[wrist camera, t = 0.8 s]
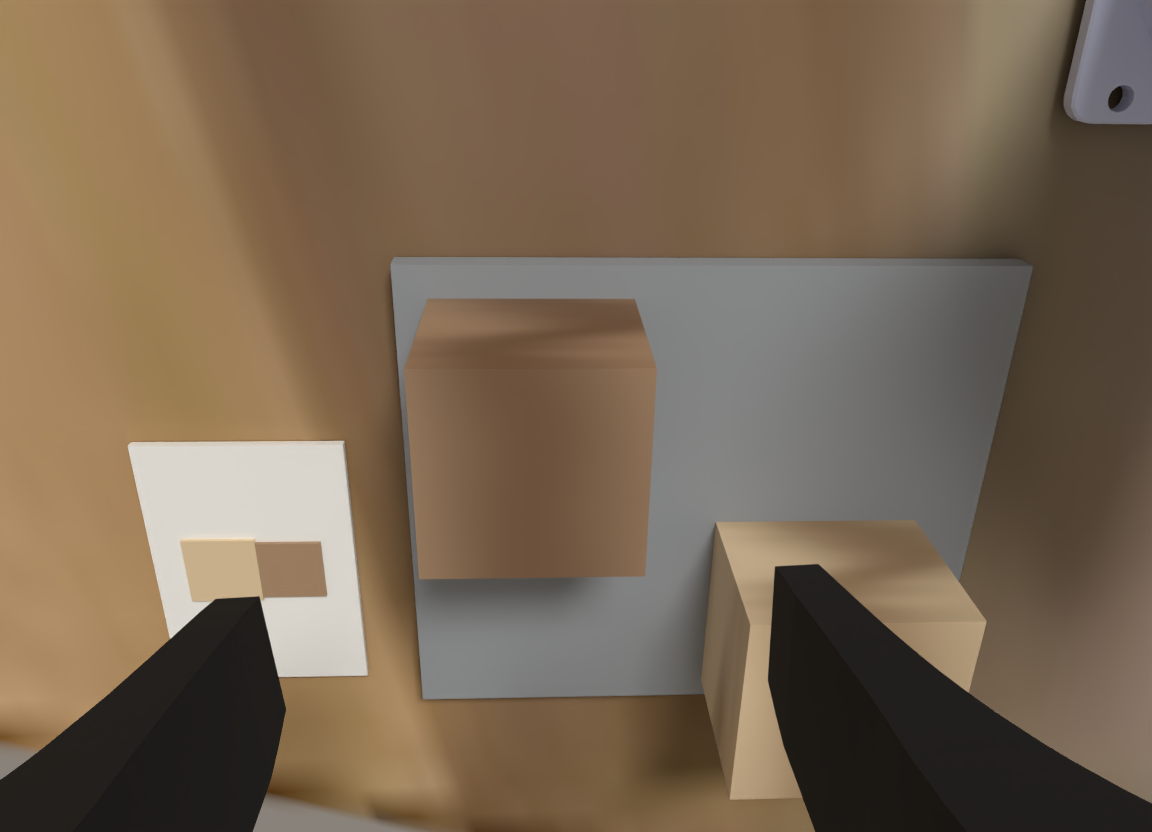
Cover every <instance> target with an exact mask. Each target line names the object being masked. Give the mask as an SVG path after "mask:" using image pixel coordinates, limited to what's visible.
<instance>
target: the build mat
mask: <svg viewBox="0 0 1152 832" xmlns="http://www.w3.org/2000/svg"><path fill="white" fill-rule="evenodd" d="M390 266H391V280H392V293H393V306H394V320H395V333H396V346H397V360H398V373H399V387H400V400H401V413H402V427H403V440H404V453H405V467H406V480H407V493H408V507H409V520H410V534H411V547H412V560H413V574H414V587H415V600H416V614H417V627H418V640H419V654H420V667H421V681H422V694H423V699H468V698H523V697H578V696H633V695H688V694H704V690H703V686H702V682H701V675H702V664H703V654H704V643H705V632H706V622H707V611H708V600H709V590H710V579H711V568H712V558H713V547H714V536H715V526H716V522H775V521H876V520H915V521H916V522H917V524H918V525H919V527H920V528H921V529H922V531H923V532H924V534H925V535H926V536H927V538H928V539H929V541H930V542H931V543H932V545H933V546H934V548H935V549H936V551H937V552H938V553H939V555H940V556H941V558H942V559H943V560H944V562H945V563H946V565H947V566H948V567H949V569H950V570H951V572H952V573H953V575H954V576H955V577H956V579H957V580H958V582H959V581H960V577H961V572H962V568H963V564H964V560H965V555H966V551H967V547H968V543H969V538H970V534H971V530H972V526H973V521H974V517H975V513H976V509H977V504H978V500H979V496H980V492H981V487H982V483H983V479H984V475H985V470H986V466H987V462H988V458H989V453H990V449H991V445H992V441H993V436H994V432H995V428H996V424H997V419H998V415H999V411H1000V407H1001V402H1002V398H1003V394H1004V390H1005V385H1006V381H1007V377H1008V373H1009V368H1010V364H1011V360H1012V356H1013V351H1014V347H1015V343H1016V339H1017V334H1018V330H1019V326H1020V322H1021V317H1022V313H1023V309H1024V305H1025V300H1026V296H1027V292H1028V288H1029V283H1030V279H1031V275H1032V271H1033V266H1032V265H1030V264H1029V263H1027V262H1025V261H1023V260H1022V259H919V258H556V257H394V259H393V261H392V263H391V264H390ZM427 299H635V301H636V304H637V307H638V310H639V314H640V317H641V320H642V323H643V326H644V329H645V332H646V336H647V339H648V342H649V345H650V348H651V351H652V354H653V358H654V361H655V364H656V367H657V377H656V394H655V412H654V430H653V448H652V465H651V483H650V501H649V518H648V536H647V554H646V572H645V576H642V577H561V578H481V579H419V571H418V557H417V543H416V529H415V515H414V502H413V488H412V474H411V460H410V446H409V432H408V418H407V404H406V390H405V376H404V368H405V365H406V362H407V359H408V356H409V353H410V350H411V347H412V344H413V341H414V338H415V335H416V332H417V329H418V326H419V323H420V320H421V317H422V314H423V311H424V308H425V305H426V302H427Z"/></svg>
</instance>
